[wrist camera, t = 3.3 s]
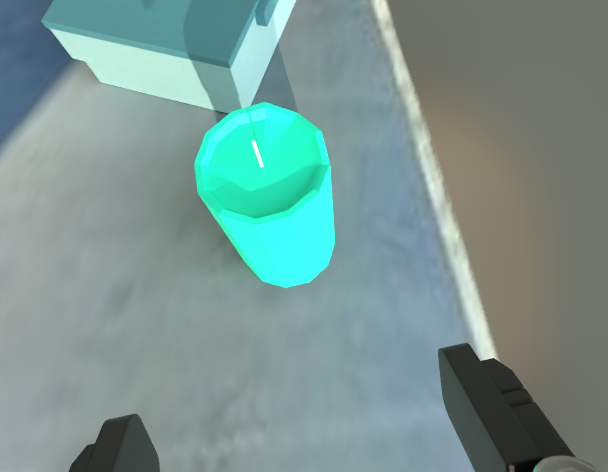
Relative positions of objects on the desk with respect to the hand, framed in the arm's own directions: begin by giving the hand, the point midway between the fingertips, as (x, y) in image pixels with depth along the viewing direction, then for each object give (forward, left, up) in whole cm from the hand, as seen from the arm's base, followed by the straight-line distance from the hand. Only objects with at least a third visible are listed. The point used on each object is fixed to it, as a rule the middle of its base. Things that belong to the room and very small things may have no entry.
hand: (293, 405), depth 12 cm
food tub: (-17, +23, -15) cm, 32 cm away
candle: (-5, +9, -15) cm, 18 cm away
